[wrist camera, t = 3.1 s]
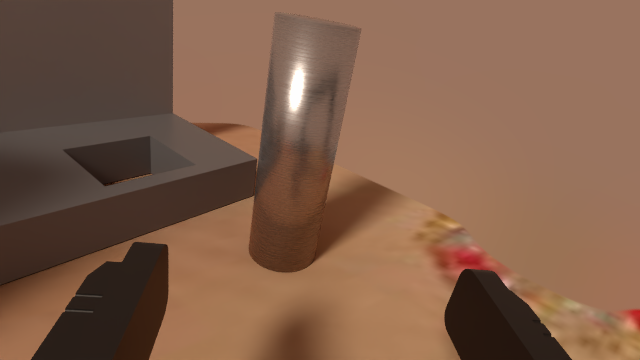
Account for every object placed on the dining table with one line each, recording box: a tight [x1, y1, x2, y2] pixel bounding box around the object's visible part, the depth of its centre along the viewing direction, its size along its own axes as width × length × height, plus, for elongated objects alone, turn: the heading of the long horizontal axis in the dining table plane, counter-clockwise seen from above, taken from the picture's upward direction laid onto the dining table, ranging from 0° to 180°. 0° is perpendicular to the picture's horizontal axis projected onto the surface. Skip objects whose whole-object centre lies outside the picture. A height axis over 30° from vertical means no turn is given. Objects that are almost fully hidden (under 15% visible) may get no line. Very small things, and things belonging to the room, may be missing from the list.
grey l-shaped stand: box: [0, 0, 257, 285], centre depth 21 cm, size 12×18×16 cm, turn 140°
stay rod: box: [249, 12, 361, 272], centre depth 20 cm, size 4×4×13 cm
